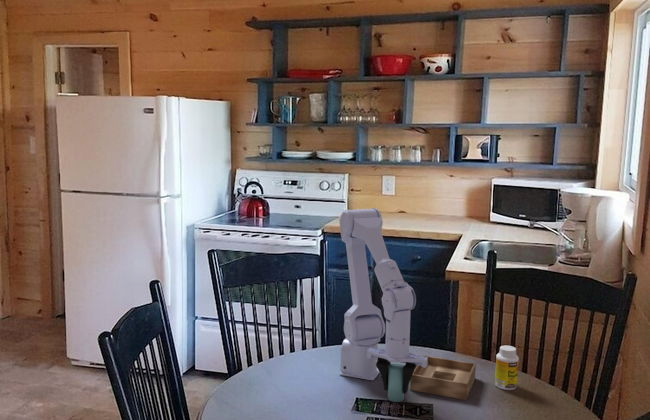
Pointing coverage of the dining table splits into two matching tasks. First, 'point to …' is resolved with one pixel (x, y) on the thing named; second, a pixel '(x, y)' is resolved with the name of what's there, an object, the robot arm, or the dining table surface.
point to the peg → (395, 382)
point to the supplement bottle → (506, 368)
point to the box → (444, 377)
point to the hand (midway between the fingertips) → (396, 390)
